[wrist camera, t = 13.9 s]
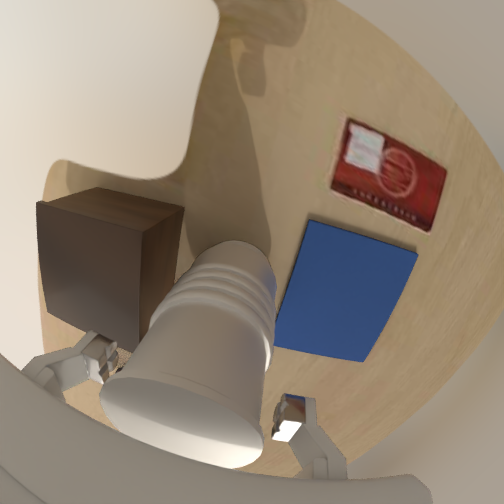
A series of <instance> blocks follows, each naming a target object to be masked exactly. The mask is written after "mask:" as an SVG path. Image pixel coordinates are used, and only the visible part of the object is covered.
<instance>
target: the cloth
mask: <svg viewBox="0 0 504 504" xmlns="http://www.w3.org/2000/svg"><path fill="white" fill-rule="evenodd" d="M417 257H418V254H417V253H415V252H412V251H409V250H406V249H403V248H400V247H397V246H394V245H391V244H388V243H385V242H382V241H379V240H376V239H373V238H370V237H367V236H363V235H360V234H357V233H354V232H351V231H347V230H344V229H341V228H337V227H334V226H331V225H327V224H324V223H320V222H317V221H313V220H310V219H309V221H308V225H307V228H306V231H305V234H304V238H303V241H302V244H301V247H300V250H299V253H298V257H297V260H296V263H295V266H294V269H293V272H292V275H291V278H290V281H289V284H288V287H287V290H286V293H285V296H284V299H283V302H282V305H281V307H280V310H279V313H278V316H277V319H276V322H275V330H274V334H275V337H274V343H273V346H278V347H282V348H287V349H291V350H296V351H301V352H306V353H311V354H316V355H322V356H327V357H333V358H339V359H345V360H351V361H358V362H364V360H365V359H366V357H367V356H368V354H369V352H370V351H371V349H372V347H373V346H374V344H375V342H376V340H377V339H378V337H379V335H380V333H381V332H382V330H383V328H384V326H385V324H386V322H387V321H388V319H389V317H390V315H391V313H392V311H393V309H394V307H395V305H396V303H397V301H398V299H399V297H400V295H401V293H402V291H403V289H404V287H405V285H406V282H407V280H408V278H409V276H410V273H411V271H412V269H413V267H414V264H415V262H416V259H417Z"/></svg>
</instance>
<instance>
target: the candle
mask: <svg viewBox="0 0 504 504" xmlns="http://www.w3.org/2000/svg"><path fill="white" fill-rule="evenodd" d="M276 289H277V286H276V279H275V275H274V273H273V271H272V269H271V266H270V264H269V261H268V259H267V258H266V256H265V255H264V254H263V253H262V252H261V251H260V250H259V249H258V248H256V247H255V246H253V245H251V244H249V243H246V242H244V241H236V240H232V241H224V242H222V243H220V244H217V245H215V246H214V247H211V248H209V249H206V250H205V251H204V252H203V253H201V254H200V255H199V256H198V257H197V258H196V260H195V261H194V263H193V264H192V266H191V268H190V269H189V270H188V271H187V272H185V273H184V274H183V275H182V276H181V277H180V278H179V280H178V281H177V283H176V284H175V285H174V286H173V287H172V289H171V291H170V292H169V293H168V294H167V295H166V296H165V298H164V300H163V301H162V302H161V303H160V304H159V306H158V307H157V308H156V310H155V312H154V313H153V315H152V317H151V319H150V325H149V331H148V332H147V333H146V335H145V336H144V338H143V339H142V341H141V342H140V344H139V345H138V346H137V348H136V349H135V351H134V352H133V354H132V355H131V357H130V358H129V360H128V361H127V363H126V364H125V366H124V367H123V369H122V370H121V371H120V372H117V373H115V374H114V375H112V376H110V377H109V378H108V379H107V380H106V382H105V383H104V384H103V386H102V389H101V391H100V393H99V396H100V404H101V406H102V408H103V410H104V412H105V414H106V416H107V417H108V419H109V420H110V421H111V422H112V424H113V425H114V426H115V427H116V428H117V429H118V430H119V431H120V432H121V433H123V434H126V435H128V436H130V437H132V438H135V439H137V440H139V441H142V442H144V443H147V444H149V445H152V446H155V447H157V448H160V449H163V450H166V451H168V452H171V453H174V454H177V455H180V456H184V457H187V458H190V459H194V460H197V461H201V462H204V463H208V464H212V465H216V466H220V467H225V468H229V469H231V468H237V467H242V466H244V465H247V464H249V463H252V462H253V461H255V460H256V459H257V458H258V457H259V456H260V455H261V452H262V449H263V446H264V435H263V431H262V428H261V426H260V425H259V421H260V413H261V404H262V395H263V386H264V377H265V373H266V372H267V370H268V368H269V367H270V365H271V362H272V357H273V351H274V347H273V343H274V337H275V334H274V330H275V318H276V309H275V302H274V300H275V295H276Z"/></svg>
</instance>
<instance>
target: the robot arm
mask: <svg viewBox="0 0 504 504" xmlns="http://www.w3.org/2000/svg"><path fill="white" fill-rule="evenodd" d="M116 349H117V342H115V341H113V340H111V339H109V338H107V337H105V336H103V335H100V334H98V333H96V332H94V331H92V330H90V331H88V332H87V333H86V334H85V335H84V336H83V337H82V339H81V340H80V341H79V342H78V343H77V344H76V345H75V346H74V347H73V348H71V347H69V348H65V349H62V350H58V351H55V352H51V353H47V354H44V355H40V356H37V357H34V358H33V359H32V360H31V361H30V362H29V363H28V364H27V365H26V366H25V367H24V368H23V369H22V370H21V371H20V370H19V369H18V368H17V367H15V366H14V365H13V364H12V363H11V362H9V361H8V360H7V359H6V358H5V357H4V356H3V355H1V354H0V504H433V501H432V496H431V492H430V490H429V489H428V488H427V487H426V486H425V485H424V484H423V483H422V482H421V481H420V480H419V479H418V478H416V477H415V476H414V475H412V474H404V475H397V476H390V477H380V478H368V479H351V480H350V479H349V480H348V478H347V467H346V458H345V457H344V456H343V454H342V453H341V452H340V451H339V449H338V448H337V447H336V446H335V444H334V443H333V442H332V441H331V439H330V438H329V437H328V435H327V434H326V433H325V432H324V430H323V429H322V428H321V426H318V425H317V414H316V400H315V398H309V397H304V396H297V395H291V394H285V393H284V394H283V395H282V396H281V401H280V402H279V403H278V404H277V406H276V408H275V411H274V415H273V421H274V423H275V424H274V426H273V427H272V437H271V439H274V440H280V441H285V442H288V443H289V445H290V447H291V449H292V450H293V452H294V454H295V456H296V458H297V459H298V461H299V463H300V465H301V467H302V468H303V469H302V470H301V471H300V472H299V473H298V474H297V475H295V476H294V477H293V478H288V477H278V476H270V475H263V474H256V473H250V472H244V471H239V470H234V469H229V468H225V467H220V466H216V465H212V464H208V463H204V462H201V461H197V460H194V459H190V458H187V457H184V456H180V455H177V454H174V453H171V452H168V451H166V450H163V449H160V448H157V447H155V446H152V445H149V444H147V443H144V442H142V441H139V440H137V439H135V438H132V437H130V436H128V435H126V434H123V433H121V432H119V431H117V430H115V429H113V428H111V427H109V426H107V425H105V424H103V423H101V422H99V421H97V420H95V419H93V418H91V417H89V416H88V415H86V414H84V413H82V412H81V411H79V410H77V409H75V408H74V407H72V406H70V405H69V404H67V403H66V400H65V398H64V395H63V393H62V392H63V391H65V390H67V389H70V388H72V387H74V386H76V385H78V384H80V383H82V382H84V381H87V380H89V378H90V379H92V380H94V381H96V382H98V383H100V384H102V385H103V384H104V383H105V382H106V380H107V379H108V378H109V372H111V371H113V370H114V369H115V367H116V366H117V363H118V358H119V357H118V353H117V351H116Z"/></svg>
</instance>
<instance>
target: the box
mask: <svg viewBox="0 0 504 504" xmlns="http://www.w3.org/2000/svg"><path fill="white" fill-rule="evenodd" d="M184 209H185V207H182V206H178V205H173V204H169V203H165V202H160V201H156V200H152V199H147V198H143V197H139V196H134V195H130V194H125V193H120V192H116V191H111V190H107V189H102V188H97V187H96V188H92V189H89V190H85V191H82V192H78V193H75V194H72V195H68V196H65V197H62V198H59V199H56V200H53V201H50V202H45V201H38V202H36V220H37V221H36V222H37V241H38V253H39V262H40V271H41V278H42V284H43V291H44V296H45V302H46V307H47V312H48V313H50V314H52V315H54V316H55V317H57V318H59V319H61V320H63V321H65V322H66V323H68V324H70V325H72V326H74V327H76V328H78V329H80V330H82V331H84V332H86V333H87V332H88V331H90V330H92V331H94V332H96V333H98V334H100V335H103V336H105V337H107V338H109V339H111V340H113V341H115V342H117V347H119V348H121V349H124V350H126V351H129V352H131V353H133V352H134V351H135V349H136V348H137V346H138V345H139V344H140V342H141V341H142V339H143V338H144V336H145V335H146V333H147V332H148V331H149V325H150V319H151V317H152V315H153V313H154V312H155V310H156V308H157V307H158V306H159V304H160V303H161V302H162V301H163V300H164V298H165V296H166V295H167V294H168V293H169V292H170V291H171V289H172V287H173V286H174V279H175V271H176V263H177V255H178V248H179V241H180V234H181V227H182V221H183V215H184Z"/></svg>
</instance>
